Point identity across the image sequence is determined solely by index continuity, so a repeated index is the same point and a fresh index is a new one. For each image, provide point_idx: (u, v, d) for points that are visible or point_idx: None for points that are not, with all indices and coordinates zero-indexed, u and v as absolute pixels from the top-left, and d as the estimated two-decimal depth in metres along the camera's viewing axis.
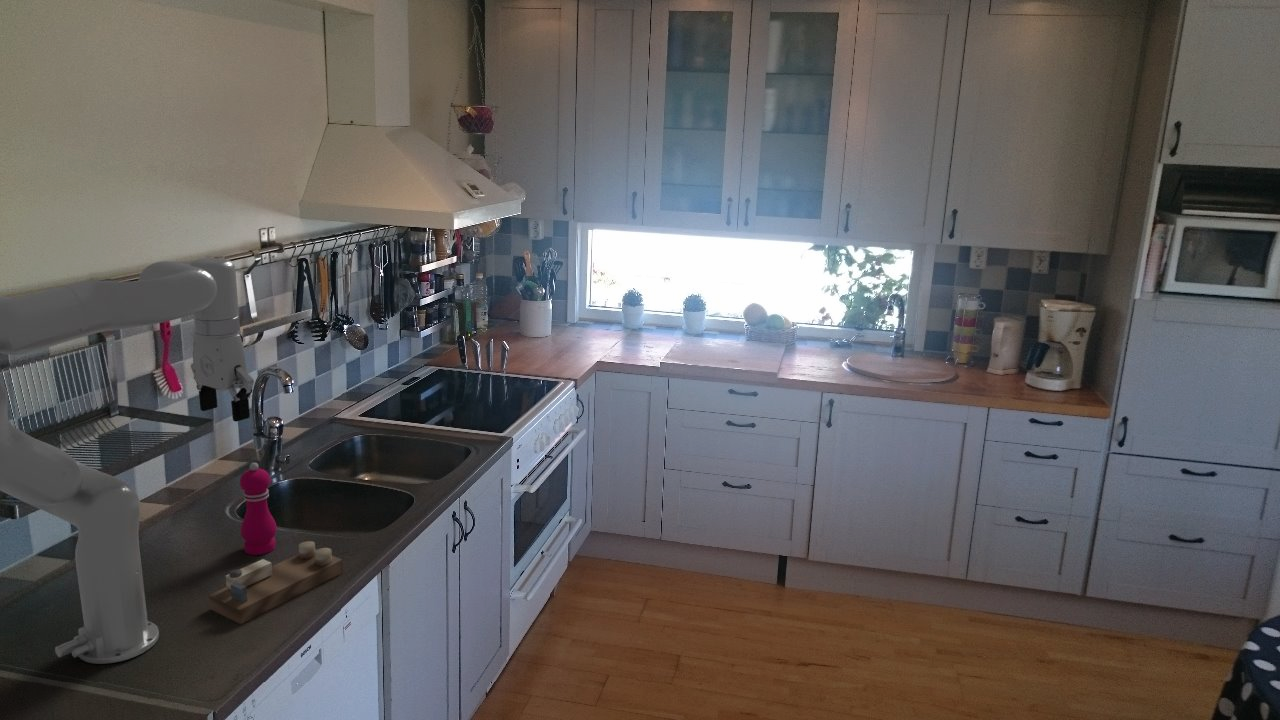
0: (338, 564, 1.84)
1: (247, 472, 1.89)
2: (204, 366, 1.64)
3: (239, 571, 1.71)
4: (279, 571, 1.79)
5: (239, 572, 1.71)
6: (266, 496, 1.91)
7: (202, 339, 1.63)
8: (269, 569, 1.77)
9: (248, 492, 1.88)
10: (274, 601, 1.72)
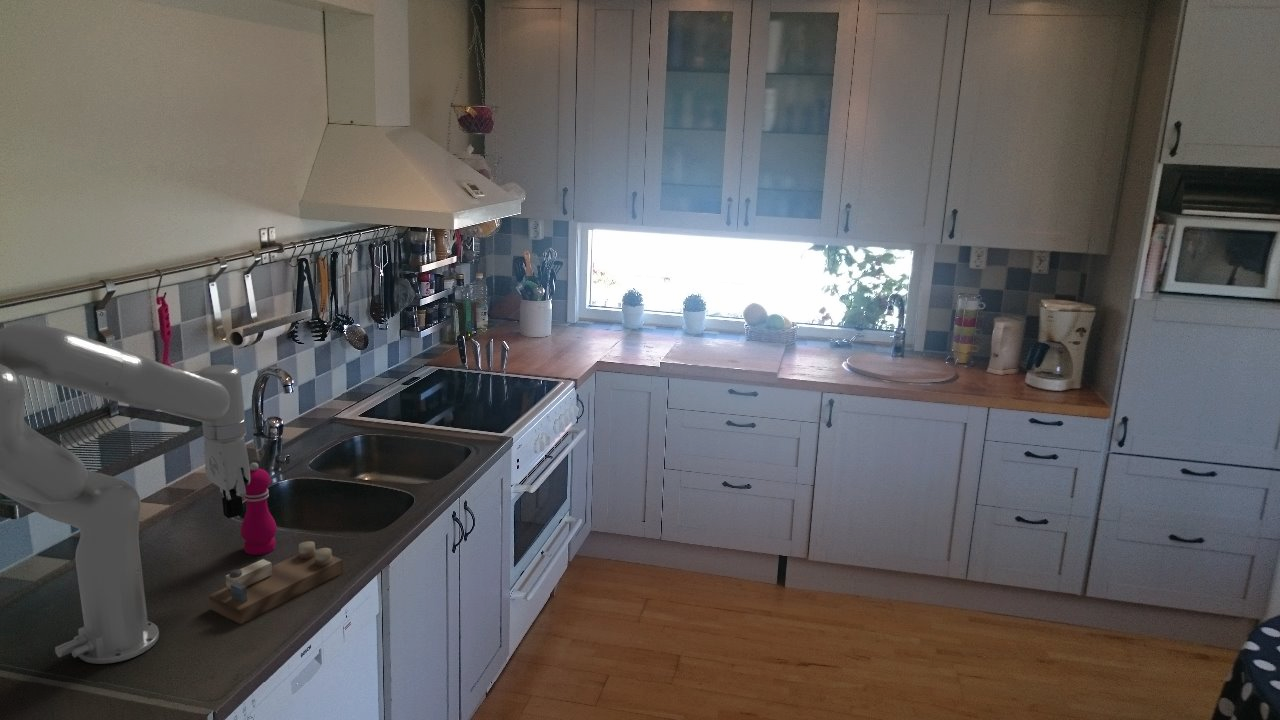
0: (338, 564, 1.84)
1: None
2: (212, 466, 1.73)
3: (239, 571, 1.71)
4: (279, 571, 1.79)
5: (239, 572, 1.71)
6: (266, 496, 1.91)
7: (210, 441, 1.72)
8: (269, 569, 1.77)
9: (248, 492, 1.88)
10: (274, 601, 1.72)
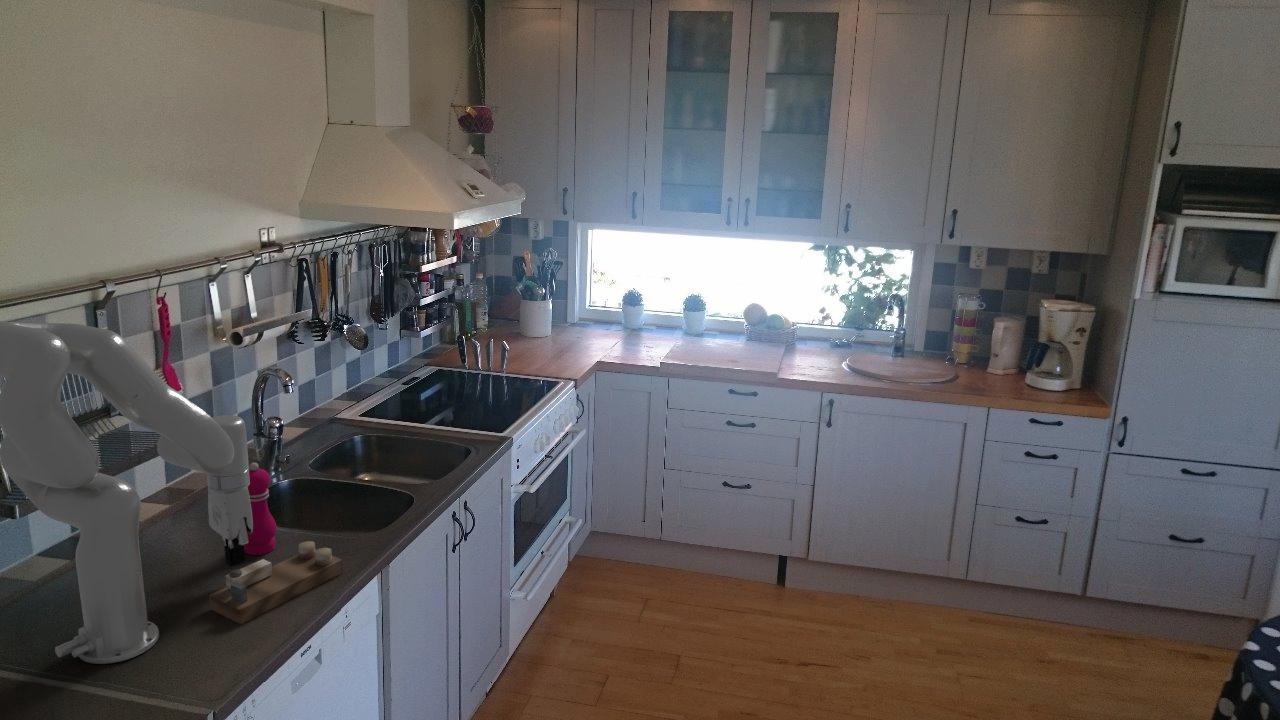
0: (338, 564, 1.84)
1: None
2: (215, 515, 1.75)
3: (239, 571, 1.71)
4: (279, 571, 1.79)
5: (239, 572, 1.71)
6: (266, 496, 1.91)
7: None
8: (269, 569, 1.77)
9: None
10: (274, 601, 1.72)
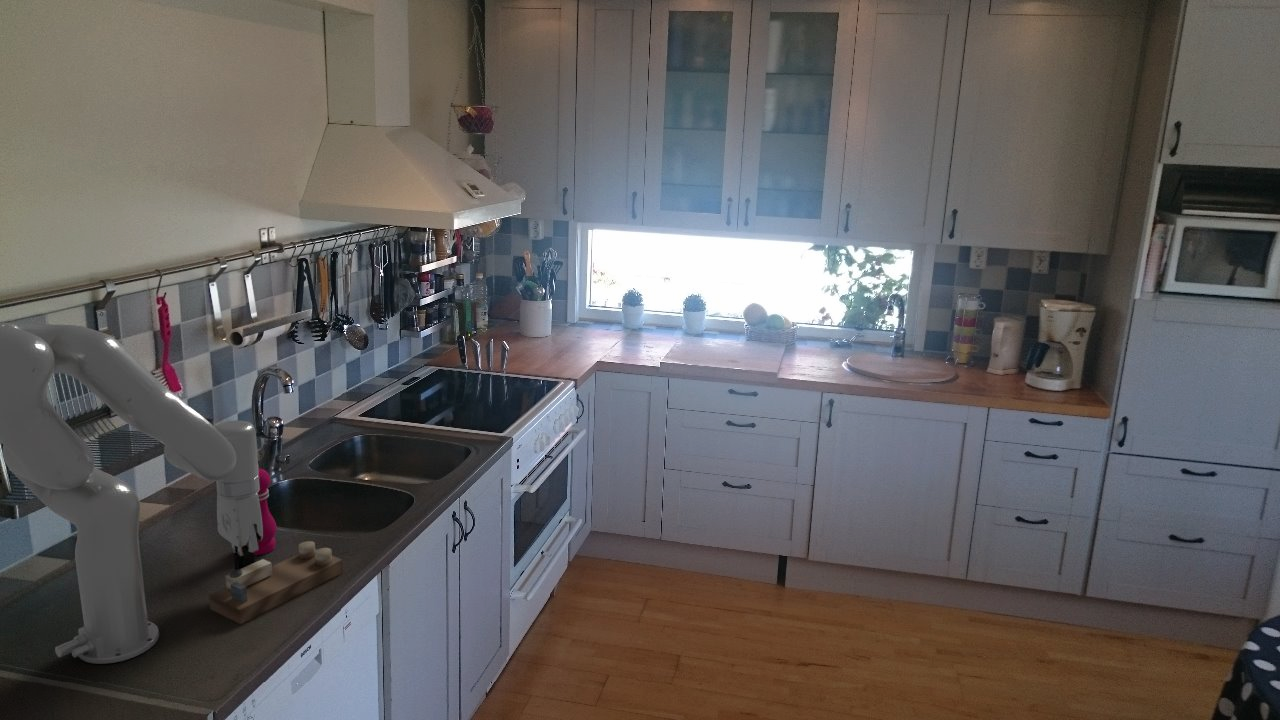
0: (338, 564, 1.84)
1: None
2: (224, 522, 1.73)
3: (239, 571, 1.71)
4: (279, 571, 1.79)
5: (239, 572, 1.71)
6: (266, 496, 1.91)
7: (223, 497, 1.71)
8: (269, 569, 1.77)
9: None
10: (274, 601, 1.72)
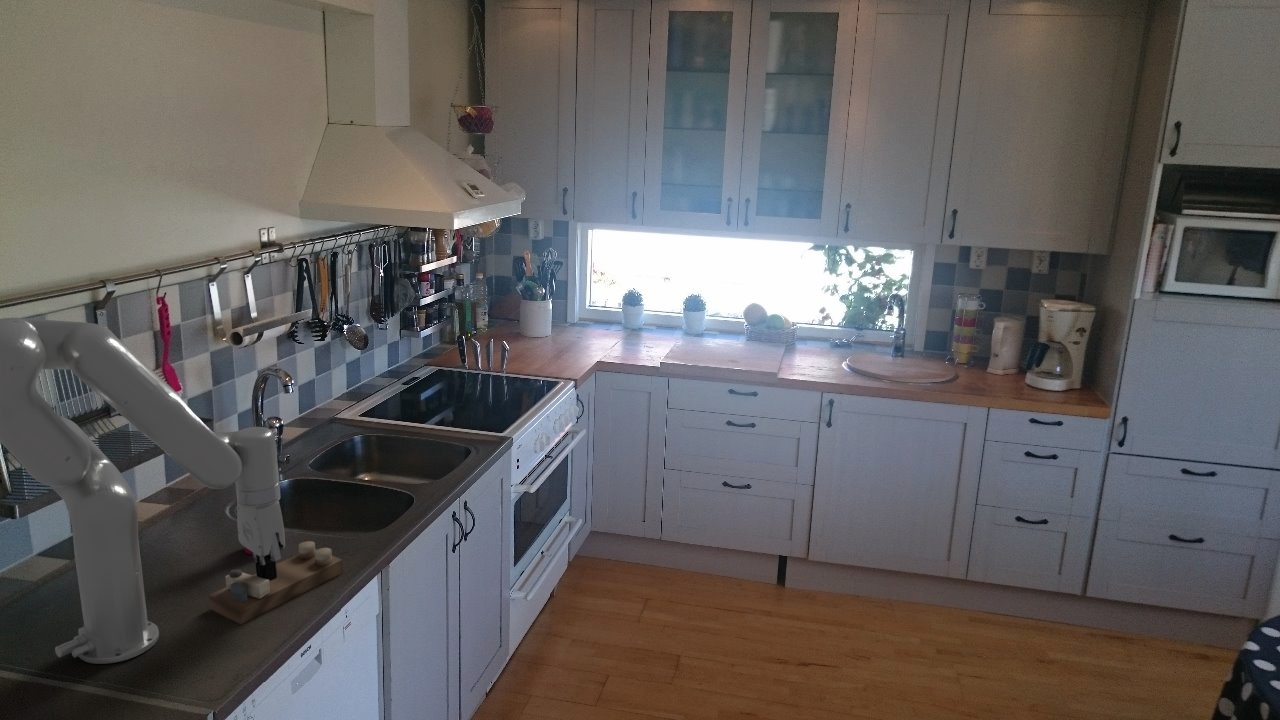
0: (338, 564, 1.84)
1: None
2: (245, 531, 1.68)
3: (235, 573, 1.71)
4: (279, 571, 1.79)
5: (234, 574, 1.71)
6: None
7: None
8: (257, 591, 1.68)
9: None
10: (274, 601, 1.72)
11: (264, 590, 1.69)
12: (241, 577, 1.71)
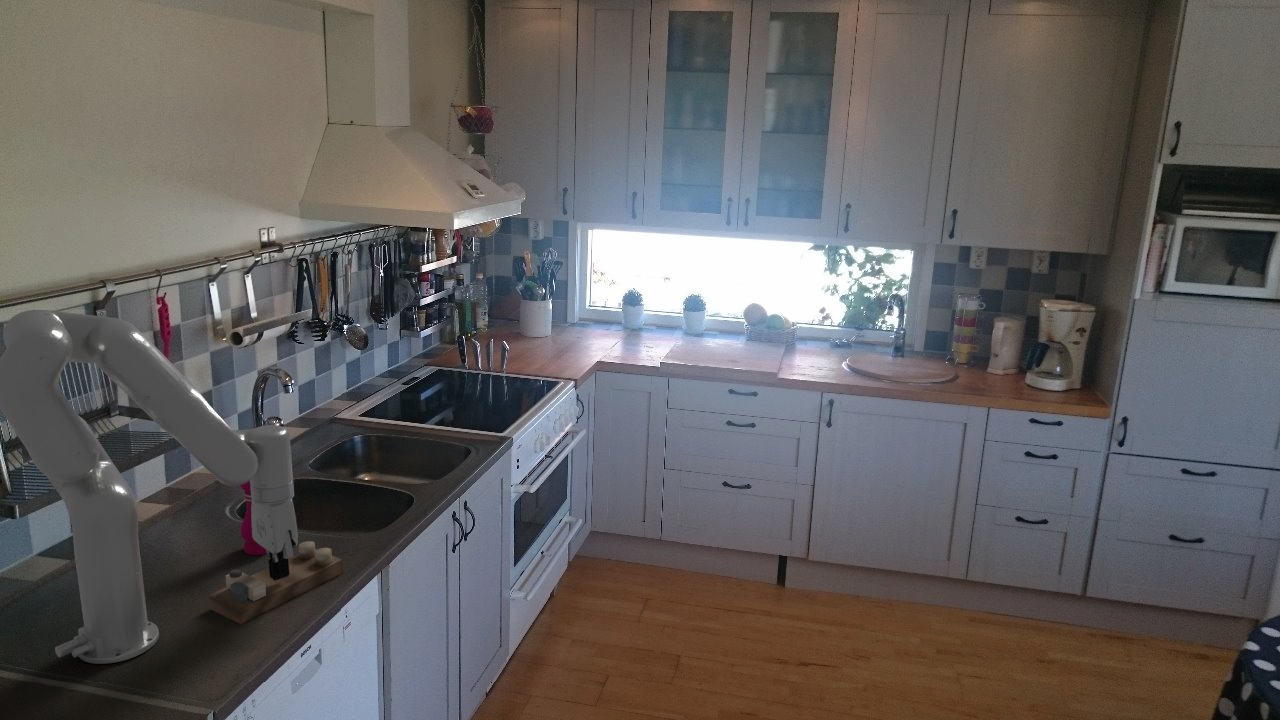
0: (338, 564, 1.84)
1: None
2: (259, 528, 1.70)
3: (234, 573, 1.71)
4: None
5: (233, 574, 1.71)
6: None
7: None
8: (251, 593, 1.68)
9: (248, 492, 1.88)
10: (274, 601, 1.72)
11: (259, 593, 1.68)
12: (240, 578, 1.70)
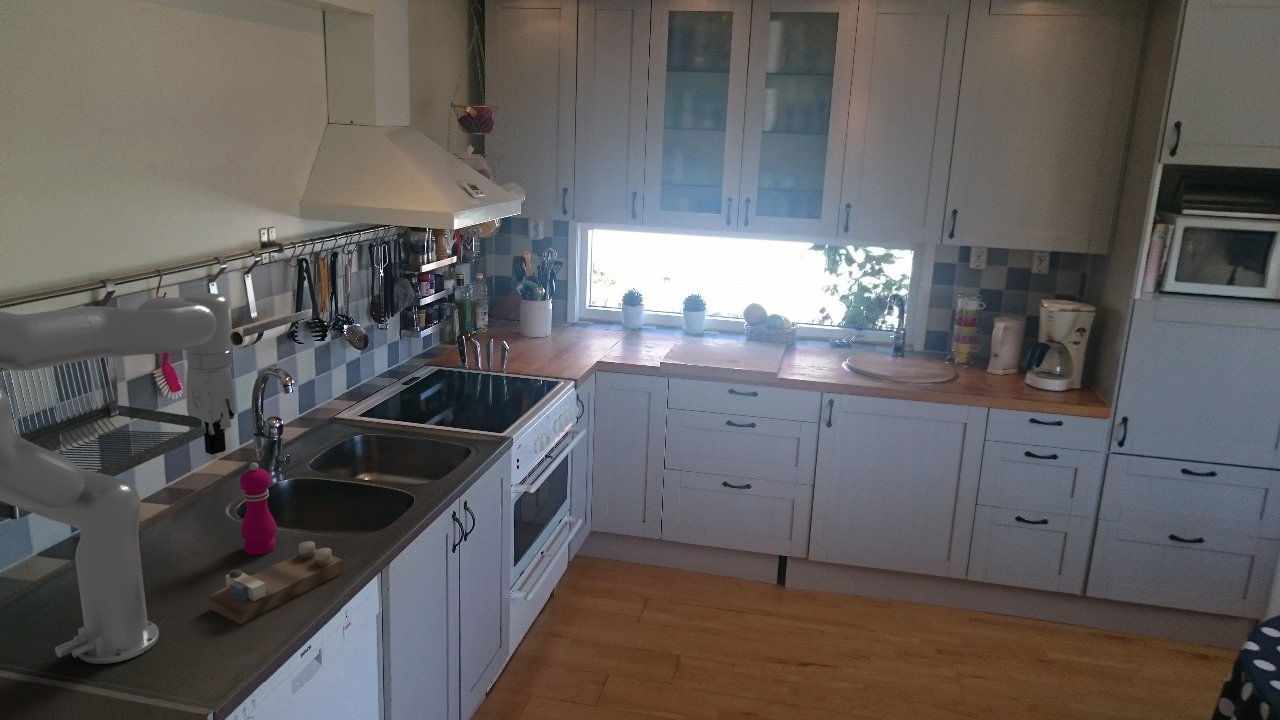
0: (338, 564, 1.84)
1: (247, 472, 1.89)
2: (195, 398, 1.67)
3: (234, 573, 1.71)
4: (279, 571, 1.79)
5: (233, 574, 1.71)
6: (266, 496, 1.91)
7: (193, 372, 1.66)
8: (251, 593, 1.68)
9: (248, 492, 1.88)
10: (274, 601, 1.72)
11: (259, 593, 1.68)
12: (240, 578, 1.70)
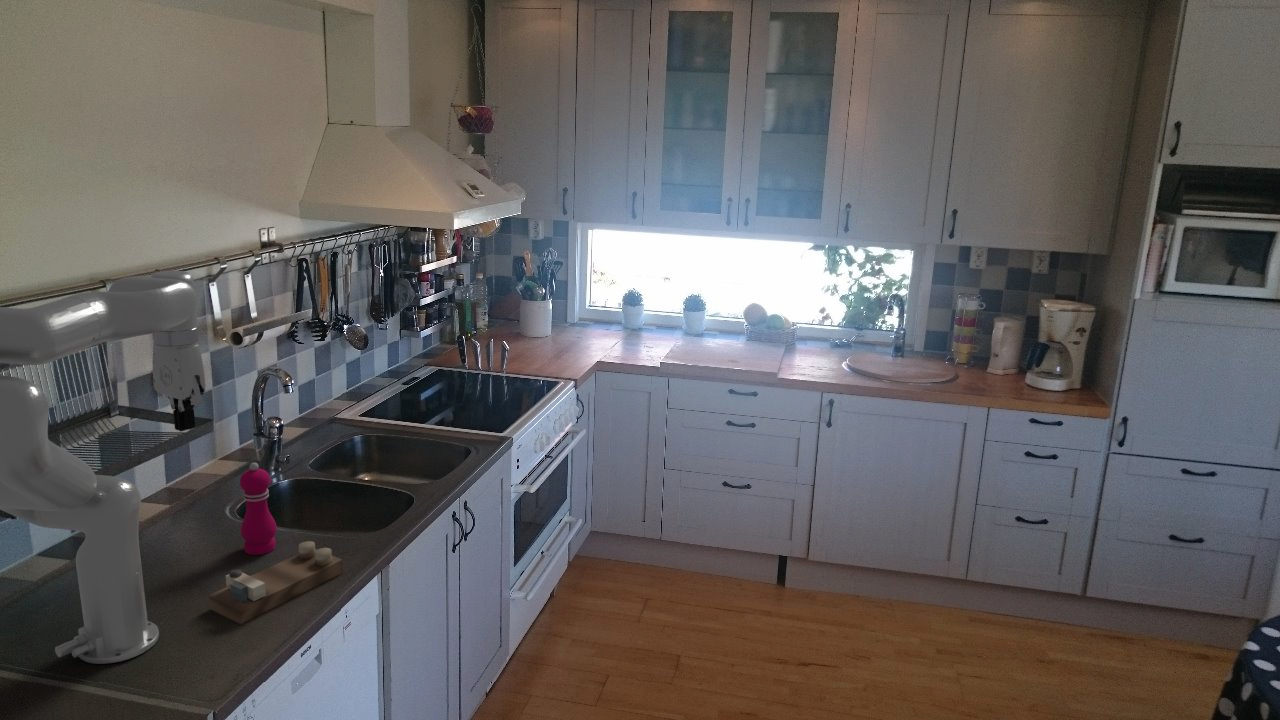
0: (338, 564, 1.84)
1: (247, 472, 1.89)
2: (163, 376, 1.68)
3: (234, 573, 1.71)
4: (279, 571, 1.79)
5: (233, 574, 1.71)
6: (266, 496, 1.91)
7: (161, 349, 1.67)
8: (251, 593, 1.68)
9: (248, 492, 1.88)
10: (274, 601, 1.72)
11: (259, 593, 1.68)
12: (240, 578, 1.70)
